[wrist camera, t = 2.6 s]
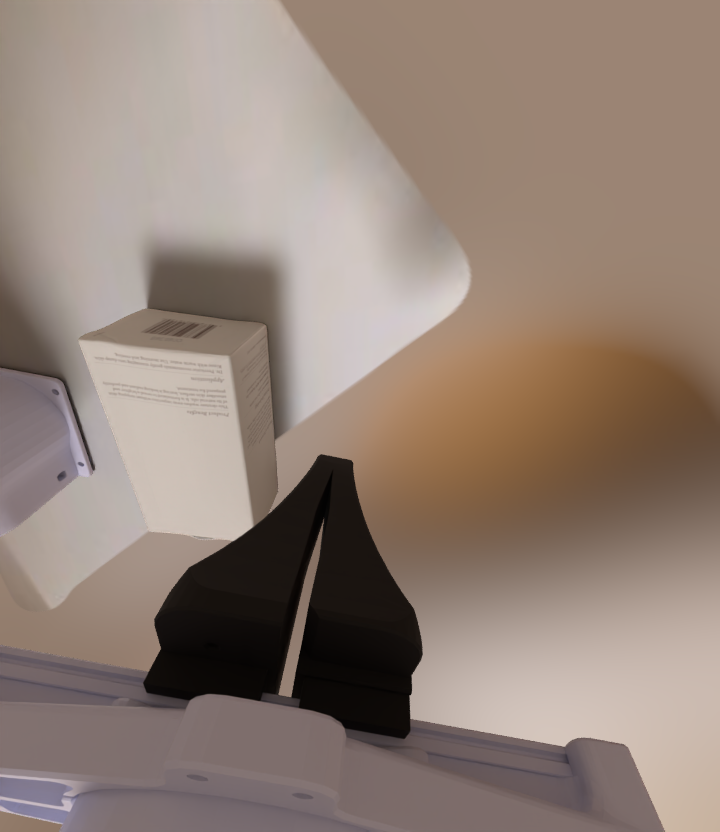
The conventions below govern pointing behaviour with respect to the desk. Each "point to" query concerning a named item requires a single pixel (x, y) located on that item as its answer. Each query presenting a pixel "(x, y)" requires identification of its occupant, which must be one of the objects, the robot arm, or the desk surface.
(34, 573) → the desk surface
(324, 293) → the desk surface
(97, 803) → the robot arm
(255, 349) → the skincare box
